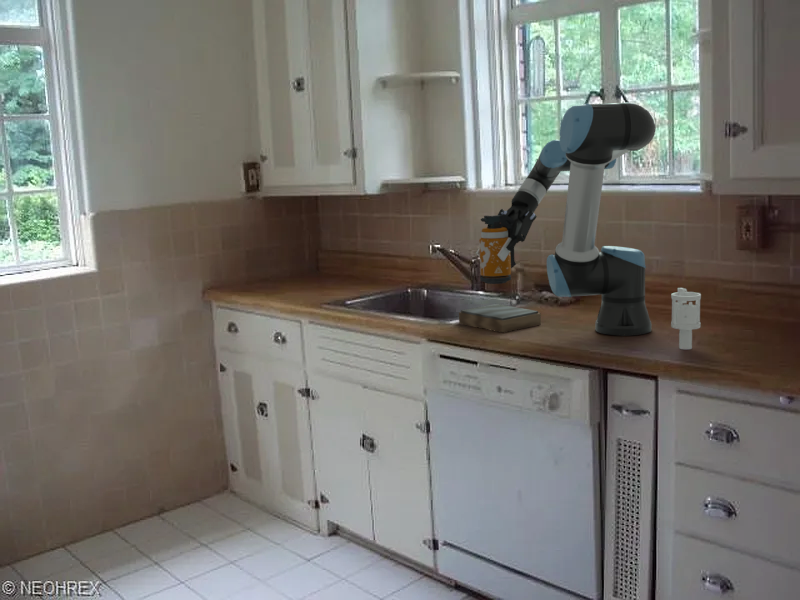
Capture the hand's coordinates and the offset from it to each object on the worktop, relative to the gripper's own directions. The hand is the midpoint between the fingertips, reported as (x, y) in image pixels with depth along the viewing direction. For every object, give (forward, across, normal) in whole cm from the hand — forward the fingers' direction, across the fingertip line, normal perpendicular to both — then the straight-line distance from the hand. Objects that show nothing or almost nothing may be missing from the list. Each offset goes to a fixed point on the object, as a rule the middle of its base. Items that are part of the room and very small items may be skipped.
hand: (489, 256), depth 270 cm
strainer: (+5, -58, -24) cm, 63 cm away
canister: (+3, 0, -8) cm, 9 cm away
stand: (+13, -1, -16) cm, 20 cm away
